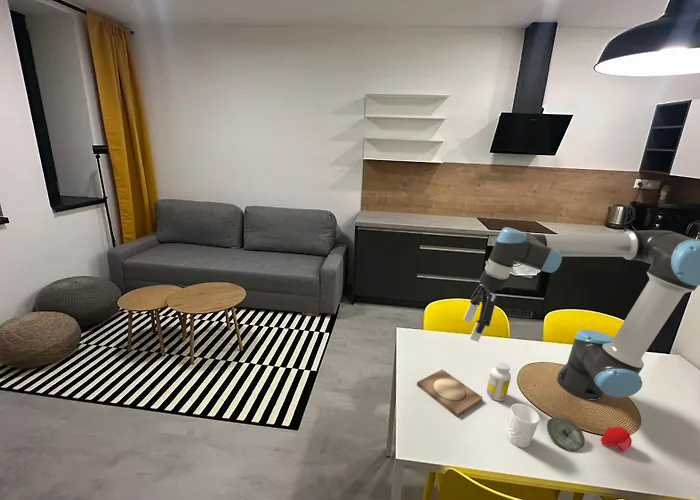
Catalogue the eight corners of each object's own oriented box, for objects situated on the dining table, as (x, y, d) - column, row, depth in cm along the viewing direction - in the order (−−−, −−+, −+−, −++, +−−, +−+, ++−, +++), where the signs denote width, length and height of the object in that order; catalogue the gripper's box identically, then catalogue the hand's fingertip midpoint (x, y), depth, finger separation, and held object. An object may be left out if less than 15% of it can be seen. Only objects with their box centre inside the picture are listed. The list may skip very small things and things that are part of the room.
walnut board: (481, 400, 123) (482, 396, 123) (457, 417, 115) (458, 412, 114) (441, 372, 137) (442, 368, 136) (416, 385, 128) (417, 381, 128)
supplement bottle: (505, 392, 128) (513, 363, 124) (505, 404, 122) (513, 373, 118) (486, 386, 131) (493, 357, 127) (485, 397, 125) (492, 367, 121)
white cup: (535, 452, 104) (543, 425, 101) (507, 446, 105) (514, 420, 102) (527, 431, 111) (535, 406, 108) (501, 426, 113) (508, 401, 109)
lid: (576, 430, 113) (580, 418, 112) (588, 456, 104) (593, 443, 102) (541, 422, 115) (544, 410, 114) (550, 447, 106) (554, 434, 104)
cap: (622, 428, 111) (607, 417, 111) (638, 438, 105) (623, 426, 105) (608, 449, 111) (593, 437, 111) (623, 460, 105) (608, 448, 105)
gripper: (476, 259, 125) (455, 310, 132) (492, 284, 102) (465, 345, 108) (497, 266, 125) (474, 317, 131) (518, 292, 101) (488, 353, 107)
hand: (470, 329), depth 120 cm, fingers open, 13 cm apart
